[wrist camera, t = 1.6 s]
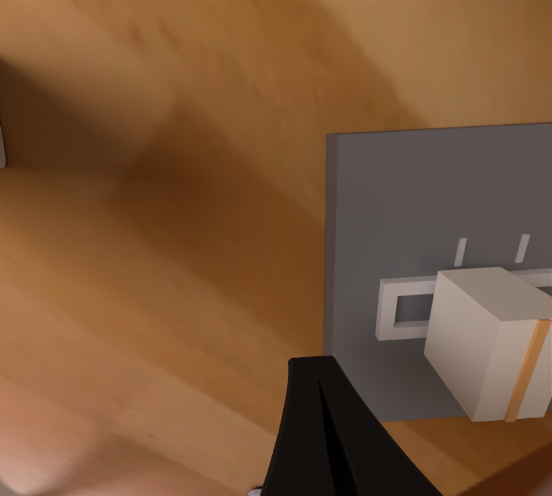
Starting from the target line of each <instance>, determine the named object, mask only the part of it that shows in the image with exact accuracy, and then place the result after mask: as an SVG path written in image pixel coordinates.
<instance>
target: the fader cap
mask: <svg viewBox="0 0 552 496" xmlns="http://www.w3.org/2000/svg"><path fill="white" fill-rule="evenodd" d="M424 355H425V357H426V358H427V359H428V361H429V362H430V364H431V365H432V366H433V368H434V369H435V371H436V372H437V373H438V375H439V376H440V378H441V379H442V380H443V382H444V383H445V385H446V386H447V387H448V389H449V390H450V392H451V393H452V394H453V396H454V397H455V399H456V400H457V401H458V403H459V404H460V406H461V407H462V408H463V410H464V411H465V413H466V414H467V415H468V417H469V418H470V420H471V421H472V422H481V421H495V420H504V421H505V422H506V423H508V422H515V420H516V419H522V418H536V417H544V414H545V412H546V410H547V407H548V405H549V402H550V400H551V397H552V297H551V296H550V295H548V294H546V293H545V292H543V291H541V290H539V289H538V288H536V287H534V286H533V285H531V284H529V283H527V282H526V281H524V280H522V279H521V278H519V277H517V276H515V275H514V274H512V273H510V272H508V271H507V270H505V269H503V268H502V267H488V268H472V269H456V270H440V271H438V275H437V280H436V286H435V292H434V297H433V303H432V309H431V314H430V320H429V326H428V331H427V337H426V342H425V348H424Z"/></svg>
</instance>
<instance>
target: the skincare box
mask: <svg viewBox="0 0 552 496" xmlns="http://www.w3.org/2000/svg"><path fill="white" fill-rule="evenodd" d="M5 164H6V156H5V151H4V144H3V137H2V131H1V126H0V168H4V167H5Z"/></svg>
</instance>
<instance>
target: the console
mask: <svg viewBox="0 0 552 496" xmlns="http://www.w3.org/2000/svg"><path fill="white" fill-rule="evenodd" d="M488 267H502V268H503V269H505V270H507V271H508V272H510V273H512V274H514V275H515V276H517V277H519V278H521V279H522V280H524V281H526V282H527V283H529V284H531V285H533V286H534V287H536V288H538V289H539V290H541V291H543V292H545V293H546V294H548V295H550V296H551V297H552V122H542V123H524V124H505V125H486V126H467V127H448V128H429V129H411V130H392V131H373V132H354V133H335V134H327V151H326V217H325V283H324V349H323V356H329V355H332V356H333V357H335V358H336V360H337V362H338V363H339V365H340V367H341V368H342V370H343V372H344V373H345V375H346V376H347V378H348V379H349V381H350V382H351V384H352V385H353V387H354V388H355V390H356V391H357V393H358V394H359V395H360V397H361V398H362V400H363V401H364V402H365V404H366V405H367V406H368V408H369V409H370V410H371V412H372V413H373V414H374V416H375V417H376V418H377V419H378V421H379V422H390V421H403V420H417V419H431V418H445V417H459V416H468V415H467V414H466V413H465V411H464V410H463V408H462V407H461V406H460V404H459V403H458V401H457V400H456V399H455V397H454V396H453V394H452V393H451V392H450V390H449V389H448V387H447V386H446V385H445V383H444V382H443V380H442V379H441V378H440V376H439V375H438V373H437V372H436V371H435V369H434V368H433V366H432V365H431V364H430V362H429V361H428V359H427V358H426V357H425V355H424V348H425V342H426V337H427V331H428V326H429V320H430V314H431V309H432V303H433V297H434V292H435V286H436V280H437V275H438V271H440V270H456V269H472V268H488ZM547 410H552V397H551V400H550V402H549V405H548V407H547Z"/></svg>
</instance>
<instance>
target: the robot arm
mask: <svg viewBox="0 0 552 496" xmlns="http://www.w3.org/2000/svg"><path fill="white" fill-rule="evenodd" d="M248 496H443V495H442V494H441V493H440V492H439V491H438V490H437V489H436V488H435V486H434V485H433V484H432V483H431V482H430V481H429V480H428V479H427V478H426V477H425V476H424V475H423V473H422V472H421V471H420V470H419V469H418V468H417V467H416V466H415V464H414V463H413V462H412V461H411V460H410V459H409V457H408V456H407V455H406V454H405V453H404V452H403V450H402V449H401V448H400V447H399V446H398V444H397V443H396V442H395V441H394V440H393V438H392V437H391V436H390V435H389V433H388V432H387V431H386V430H385V428H384V427H383V426H382V425H381V423H380V422H379V421H378V419H377V418H376V417H375V416H374V414H373V413H372V412H371V410H370V409H369V408H368V406H367V405H366V404H365V402H364V401H363V400H362V398H361V397H360V395H359V394H358V393H357V391H356V390H355V388H354V387H353V385H352V384H351V382H350V381H349V379H348V378H347V376H346V375H345V373H344V372H343V370H342V368H341V367H340V365H339V363H338V362H337V360H336V358H335V357H333V356H332V355H329V356H314V357H300V358H291V359H290V360H289V361H288V385H287V392H286V399H285V404H284V409H283V414H282V419H281V424H280V428H279V432H278V436H277V439H276V443H275V447H274V450H273V454H272V458H271V462H270V465H269V468H268V471H267V475H266V478H265V481H264V484H263V487H262V489H254V490H251V491H250V492H249V494H248Z"/></svg>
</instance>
